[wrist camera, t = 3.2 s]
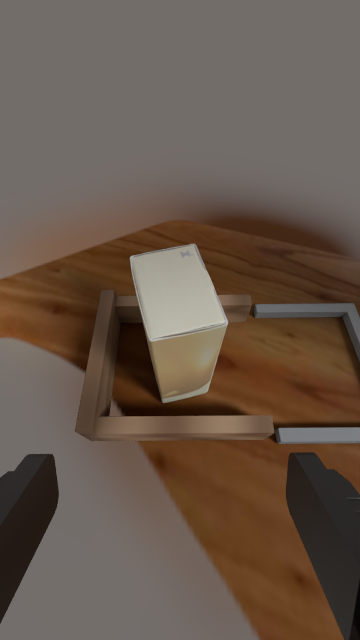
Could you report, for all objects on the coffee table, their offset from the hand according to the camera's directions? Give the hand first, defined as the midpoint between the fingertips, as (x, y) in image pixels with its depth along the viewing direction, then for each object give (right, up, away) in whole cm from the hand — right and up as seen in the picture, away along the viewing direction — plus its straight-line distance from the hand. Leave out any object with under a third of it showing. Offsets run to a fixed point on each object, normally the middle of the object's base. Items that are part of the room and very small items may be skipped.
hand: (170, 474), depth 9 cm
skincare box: (0, +1, +16) cm, 16 cm away
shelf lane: (0, +1, +16) cm, 16 cm away
